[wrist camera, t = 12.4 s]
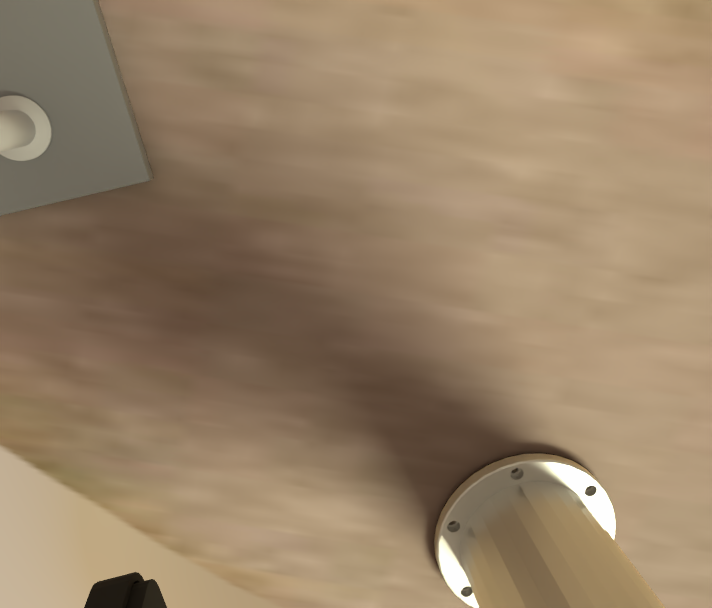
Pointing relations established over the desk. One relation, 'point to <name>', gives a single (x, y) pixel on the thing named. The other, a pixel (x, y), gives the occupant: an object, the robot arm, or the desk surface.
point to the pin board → (62, 106)
